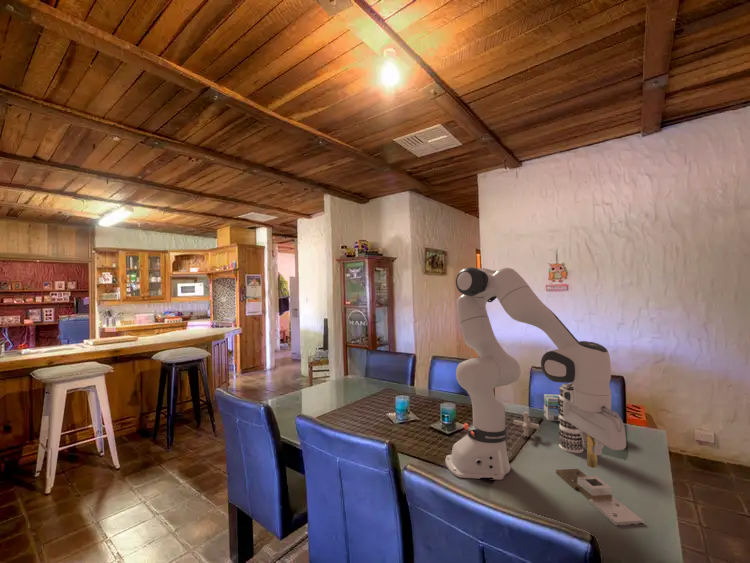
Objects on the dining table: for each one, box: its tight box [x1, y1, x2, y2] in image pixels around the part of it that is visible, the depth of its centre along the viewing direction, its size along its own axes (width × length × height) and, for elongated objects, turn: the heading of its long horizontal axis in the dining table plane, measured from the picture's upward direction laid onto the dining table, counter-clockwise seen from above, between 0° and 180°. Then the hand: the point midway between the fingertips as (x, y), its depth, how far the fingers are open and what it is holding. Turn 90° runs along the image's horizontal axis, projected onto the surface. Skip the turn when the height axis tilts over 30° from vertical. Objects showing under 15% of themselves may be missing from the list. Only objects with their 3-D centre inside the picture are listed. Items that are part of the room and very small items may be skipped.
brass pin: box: [586, 434, 598, 469], centre depth 96 cm, size 2×2×9 cm
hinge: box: [555, 468, 644, 527], centre depth 107 cm, size 26×8×4 cm, turn 5°
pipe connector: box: [513, 411, 540, 438], centre depth 149 cm, size 10×10×10 cm
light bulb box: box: [543, 393, 560, 422], centre depth 168 cm, size 11×7×11 cm, turn 81°
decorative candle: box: [557, 383, 584, 454], centre depth 138 cm, size 9×9×25 cm
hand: (592, 450), depth 96 cm, fingers closed on brass pin, 2 cm apart
